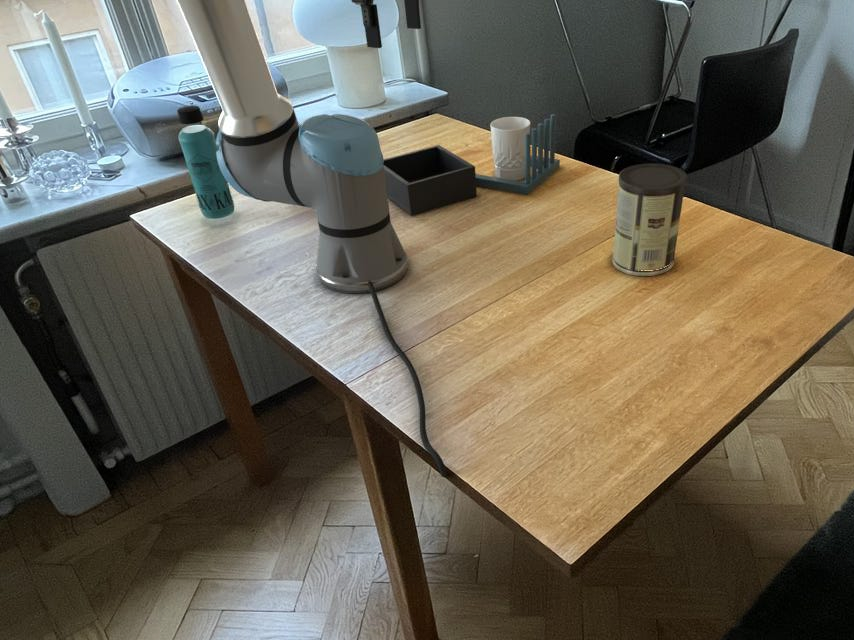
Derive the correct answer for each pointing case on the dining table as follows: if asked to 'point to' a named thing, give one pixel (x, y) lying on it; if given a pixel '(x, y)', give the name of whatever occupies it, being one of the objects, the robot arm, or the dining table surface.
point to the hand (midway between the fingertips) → (395, 37)
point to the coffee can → (648, 218)
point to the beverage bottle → (204, 165)
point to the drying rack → (530, 162)
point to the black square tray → (428, 179)
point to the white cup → (509, 147)
